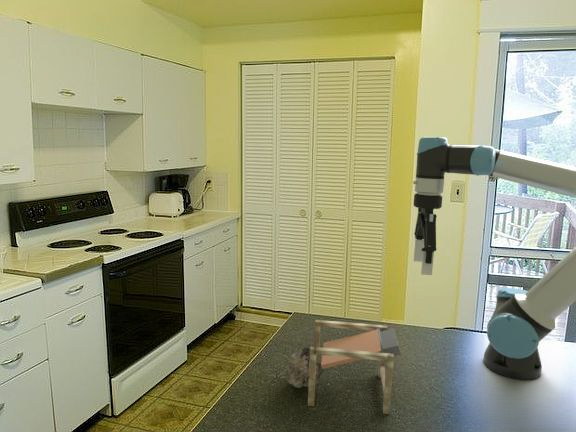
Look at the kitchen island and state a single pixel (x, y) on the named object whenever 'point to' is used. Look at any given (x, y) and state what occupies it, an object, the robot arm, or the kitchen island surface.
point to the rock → (302, 369)
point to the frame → (382, 357)
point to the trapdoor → (362, 346)
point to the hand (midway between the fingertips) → (422, 267)
